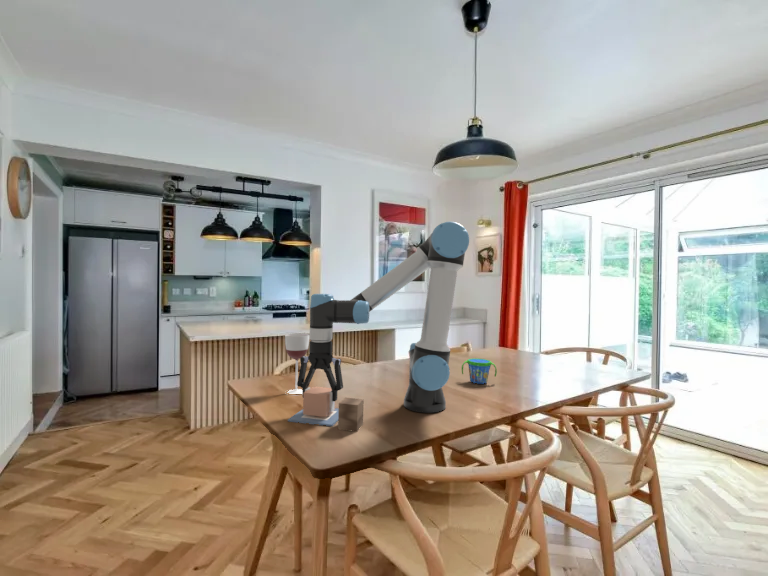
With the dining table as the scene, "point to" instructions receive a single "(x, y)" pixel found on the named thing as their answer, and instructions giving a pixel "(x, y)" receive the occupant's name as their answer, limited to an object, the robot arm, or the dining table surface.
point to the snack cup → (479, 370)
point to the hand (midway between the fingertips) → (319, 409)
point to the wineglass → (296, 352)
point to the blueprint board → (316, 418)
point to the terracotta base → (317, 401)
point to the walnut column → (350, 414)
